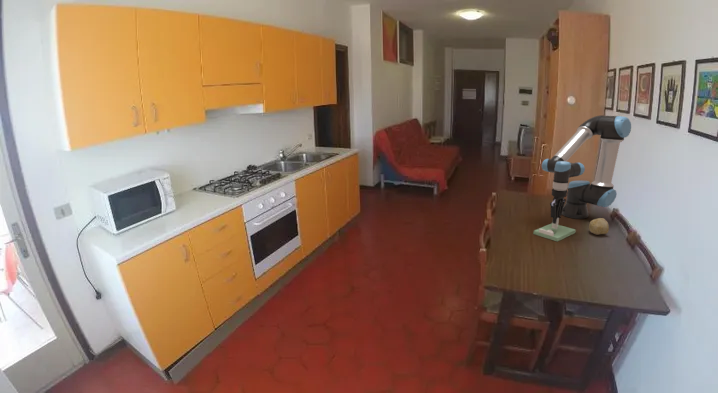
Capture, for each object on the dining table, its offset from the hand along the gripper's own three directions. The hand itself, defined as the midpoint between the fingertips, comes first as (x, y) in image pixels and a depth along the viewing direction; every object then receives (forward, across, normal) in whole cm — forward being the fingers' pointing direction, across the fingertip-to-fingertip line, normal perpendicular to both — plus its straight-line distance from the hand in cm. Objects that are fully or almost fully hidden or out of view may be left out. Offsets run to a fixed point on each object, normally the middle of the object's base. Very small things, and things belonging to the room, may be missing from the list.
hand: (554, 228), depth 211 cm
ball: (+2, +5, 0) cm, 5 cm away
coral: (+4, -18, +15) cm, 24 cm away
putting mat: (+3, 0, 0) cm, 3 cm away
